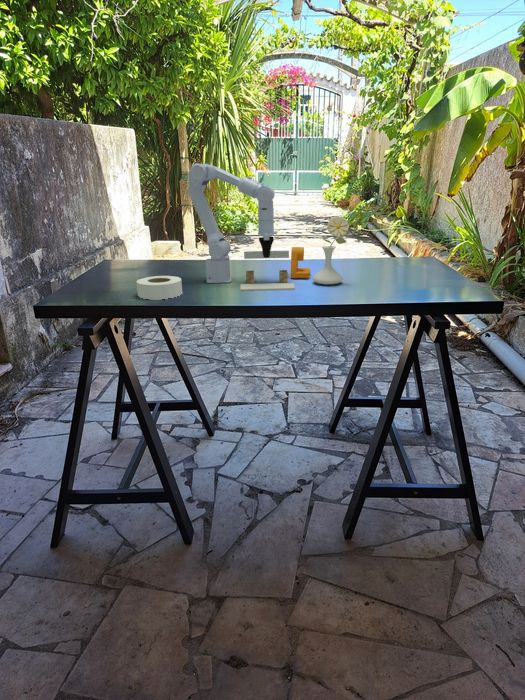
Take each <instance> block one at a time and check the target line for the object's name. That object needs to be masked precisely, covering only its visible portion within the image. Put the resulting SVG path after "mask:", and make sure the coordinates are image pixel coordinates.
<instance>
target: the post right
mask: <svg viewBox="0 0 525 700" xmlns="http://www.w3.org/2000/svg"><path fill="white" fill-rule="evenodd" d="M278 271H279V273H278V274H279V275H278V277H279V279H278V282H279V283H289V280H288V278H289V274H288V273H289V272H288V269H279V270H278Z"/></svg>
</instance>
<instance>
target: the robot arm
mask: <svg viewBox="0 0 525 700" xmlns="http://www.w3.org/2000/svg"><path fill="white" fill-rule="evenodd" d="M187 176H188V190H187V191H188V194H189V197H190V199H191V201H192V204H193V206H194V209H195V211H196V213H197V215H198V218H199V221H200V223H201V225H202V227H203V229H204V232H205V234H206V236H207V238H206V239H207V240H206V241H207V242H206V243H207V245H208V254H209V255H210V258H206V259H205V278H206V283H207V284H210V283H211V284H215V283H216V284H218V283H220V284H223V283H228V284H229V283H232V280H233V279H232V278H233V277H231V266H230V261H231V260H230V255H229V254H230V252H231V249H232V248H231V244H230V242H229V240H227V239H226V238H225V235H224V234H223V232H221V231H220V228H219V227H218V224H217V221H216V219H215V217H214V215H213V211H212V210H211V207H210V205H209V203H208V200H207V197H206V195H205V194H204V193H205V192H204V191H205V189H206V186H207V185H208V184H209V182H210V181H211V180H215V179H216V180H217V179H218V180H219V181H222V182H225V183H228V184H230V185H231V186H235V187H237V189H238V192H240V193H242V194H244V195H246V196H248V197H251V198H253V199H256V200H257V201H258V202H257V204H258V206H257V207H258V208H257V211H258V212H257V215H258V216H257V217H258V218H257V219H258V222H257V223H258V225H257V226H258V230H257V231H258V233H257V235H259V236H260V237H258V241H259V243H260V244H259V245H261V251H263V256H264V258H263V259H270V258H269V257H270V251H272V250H271V249H272V246H273V243H274V241H275V239H274V235H278V232H277V231H275V230H274V229H275V228H274V227H275V226H274V218H275V217H274V216H275V215H274V212H275V211H274V209H275V208H274V198H275V190H274V189H273V188H272V187H271V186H270V185H265V184H264V182H258V181H256V180H254V179H253V176H249V175H248V176H244V177H239V176H237V175H234V174H233V173H230V172H229V171H227V170H225V169H223V168H222V167H217V166H215V165H210V164H209V163H197V162H196V163H194V164H193V165H191V167H190V169H189V171H188V173H187Z"/></svg>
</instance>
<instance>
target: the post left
mask: <svg viewBox="0 0 525 700" xmlns="http://www.w3.org/2000/svg"><path fill="white" fill-rule="evenodd" d="M245 284H255V270H246V271H245Z"/></svg>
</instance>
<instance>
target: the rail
mask: <svg viewBox="0 0 525 700" xmlns="http://www.w3.org/2000/svg"><path fill="white" fill-rule="evenodd" d="M243 254H244V255H243V256H244V257H243V258H244V260H252V259H253V260H254V259H255V260H256V259H261V260H262V259H265V258H264V256H263V251H262V250H258V251H256V250H255V251H254V250H252V251H251V250H250V251H249V250H248V251H247V250H246V251H243ZM289 258H290V251H289V250H271V251H270V257H269V258H268V259H289Z"/></svg>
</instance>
